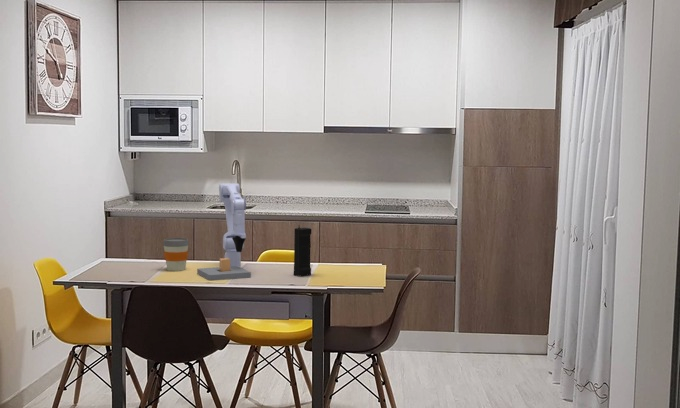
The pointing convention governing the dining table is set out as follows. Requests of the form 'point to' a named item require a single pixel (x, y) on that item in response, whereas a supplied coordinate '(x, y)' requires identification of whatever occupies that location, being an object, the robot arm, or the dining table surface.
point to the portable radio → (302, 251)
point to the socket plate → (223, 273)
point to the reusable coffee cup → (176, 253)
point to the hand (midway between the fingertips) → (239, 251)
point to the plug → (224, 264)
